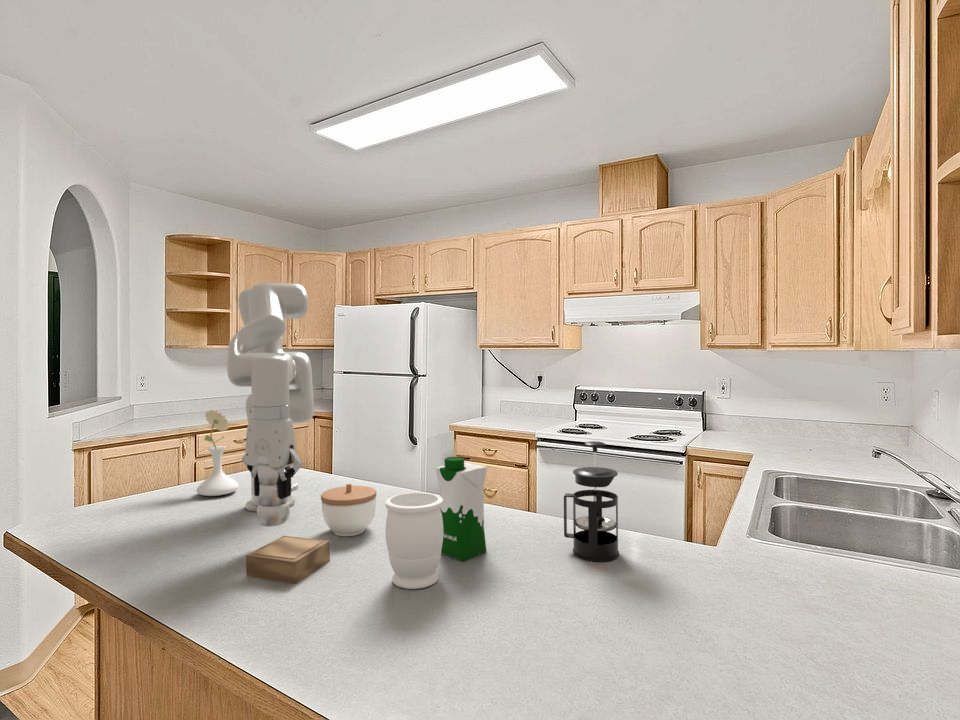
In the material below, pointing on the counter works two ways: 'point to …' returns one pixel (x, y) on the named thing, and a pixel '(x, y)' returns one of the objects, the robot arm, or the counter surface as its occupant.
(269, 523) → the plastic bottle
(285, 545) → the base slab
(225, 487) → the flower in vase
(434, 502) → the jar
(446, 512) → the milk carton
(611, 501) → the french press
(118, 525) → the counter surface
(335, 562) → the counter surface
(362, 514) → the lidded bowl
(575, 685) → the counter surface
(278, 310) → the robot arm
